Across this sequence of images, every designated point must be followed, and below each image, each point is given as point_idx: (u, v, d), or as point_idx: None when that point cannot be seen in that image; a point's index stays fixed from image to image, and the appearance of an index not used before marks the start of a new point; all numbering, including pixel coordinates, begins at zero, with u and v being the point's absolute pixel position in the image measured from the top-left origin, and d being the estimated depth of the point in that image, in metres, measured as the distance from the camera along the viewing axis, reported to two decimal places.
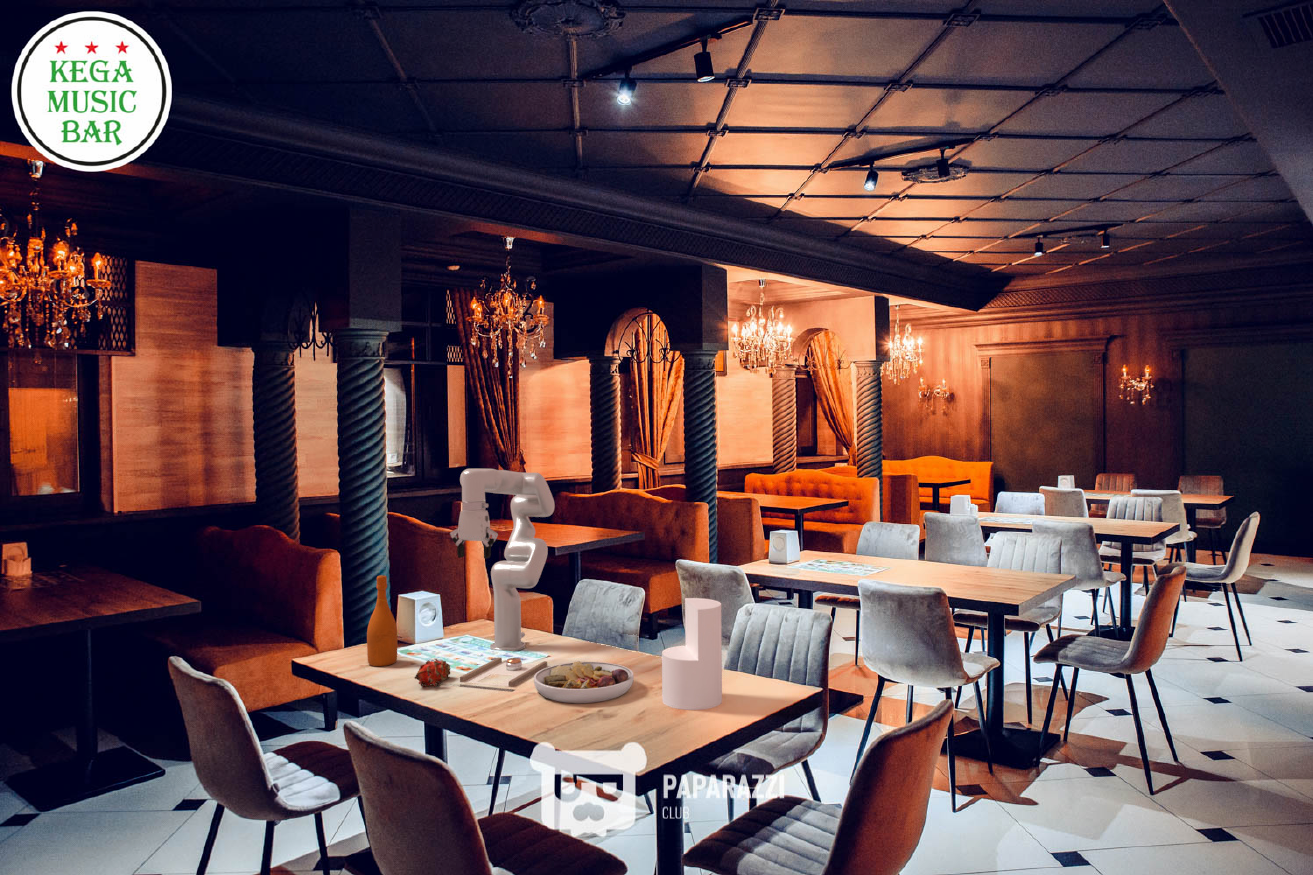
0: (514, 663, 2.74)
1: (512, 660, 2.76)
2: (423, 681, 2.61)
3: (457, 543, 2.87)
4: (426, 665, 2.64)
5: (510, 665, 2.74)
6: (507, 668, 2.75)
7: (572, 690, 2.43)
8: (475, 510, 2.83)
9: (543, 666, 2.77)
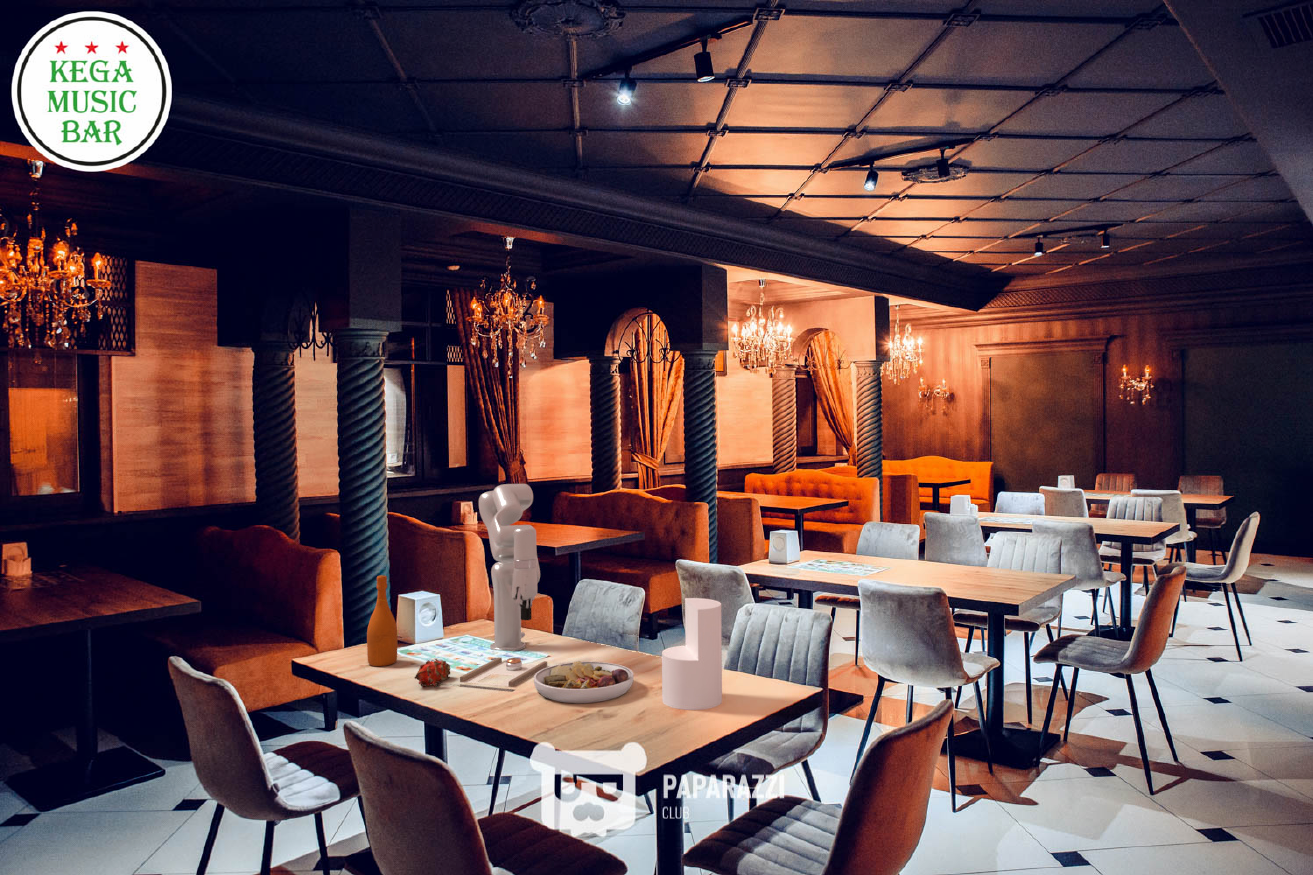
0: (514, 663, 2.74)
1: (512, 660, 2.76)
2: (423, 681, 2.61)
3: (527, 606, 2.83)
4: (426, 665, 2.64)
5: (510, 665, 2.74)
6: (507, 668, 2.75)
7: (572, 690, 2.43)
8: None
9: (543, 666, 2.77)
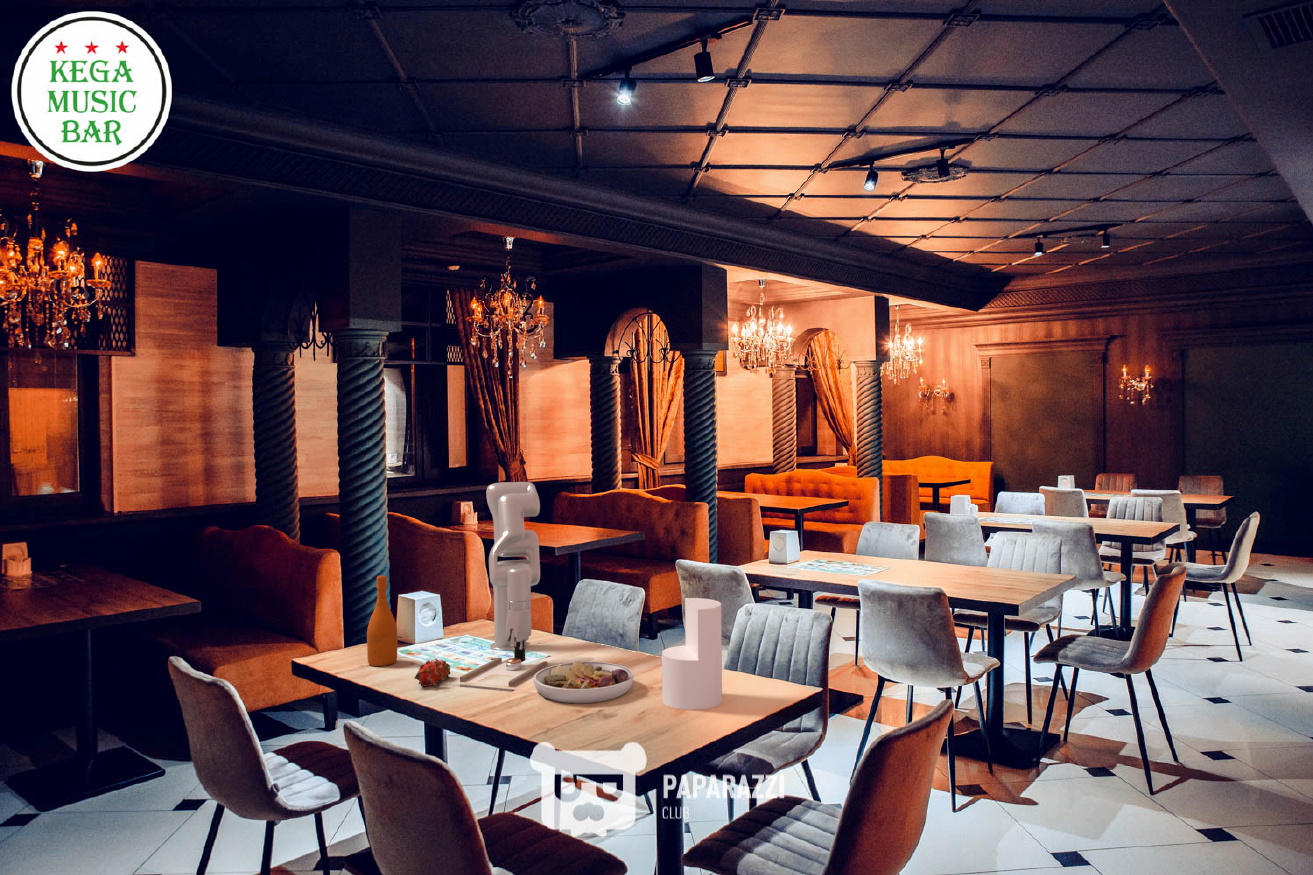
0: (514, 663, 2.74)
1: (512, 660, 2.76)
2: (423, 681, 2.61)
3: (521, 647, 2.79)
4: (426, 665, 2.64)
5: (510, 665, 2.74)
6: (507, 668, 2.75)
7: (572, 690, 2.43)
8: None
9: (543, 666, 2.77)
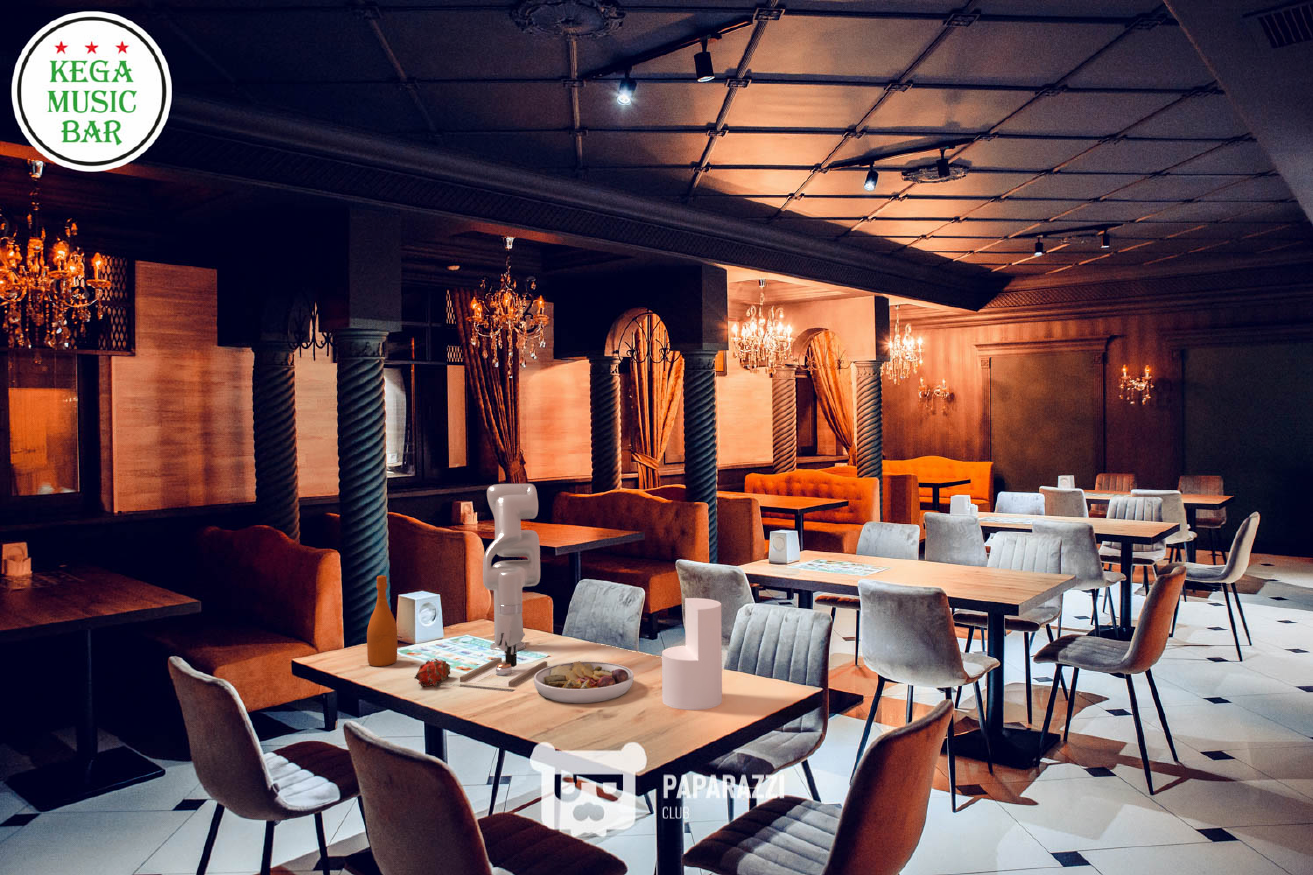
0: (503, 668, 2.69)
1: (502, 665, 2.70)
2: (423, 681, 2.61)
3: (512, 652, 2.73)
4: (426, 665, 2.64)
5: (499, 670, 2.69)
6: (497, 673, 2.70)
7: (572, 690, 2.43)
8: None
9: (543, 666, 2.77)
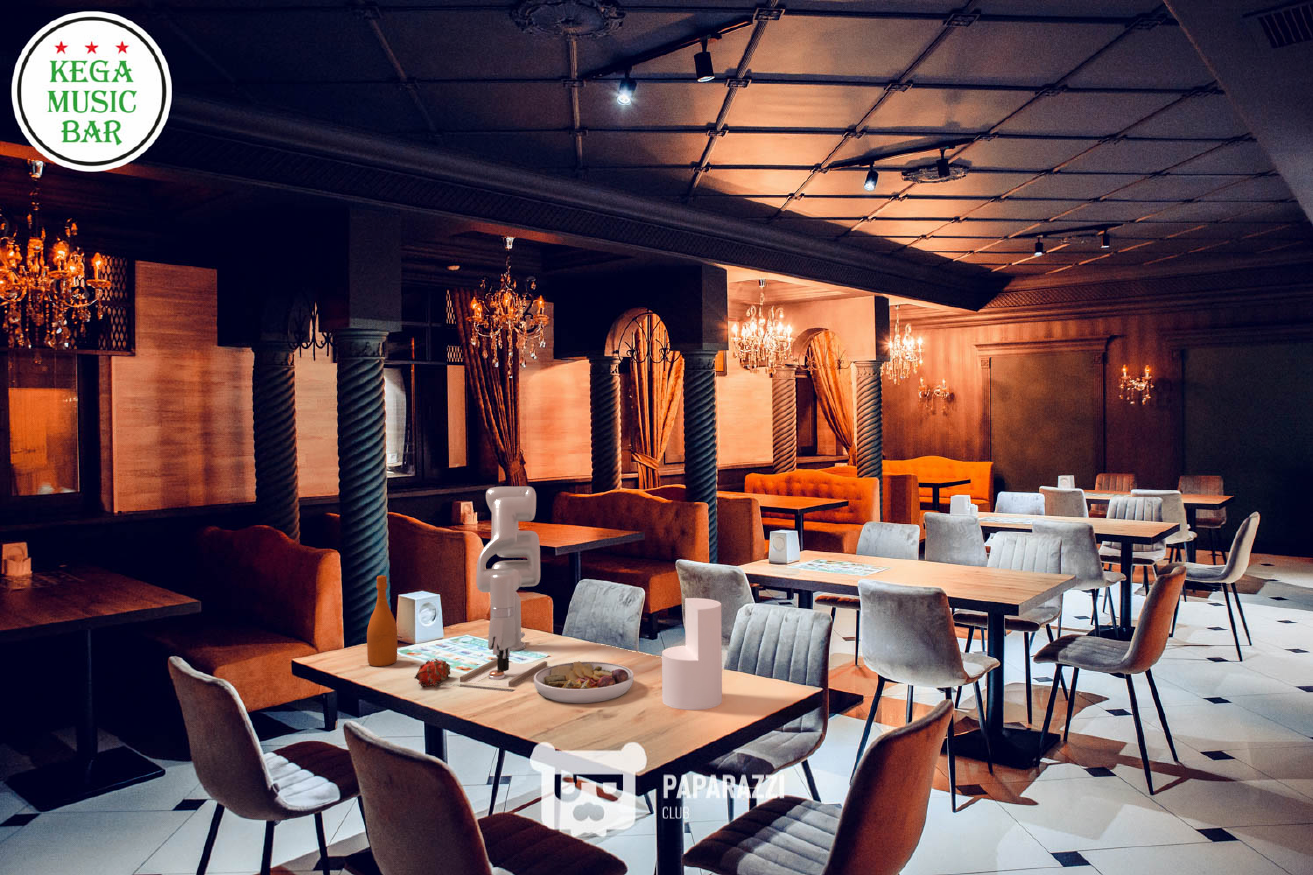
0: (496, 676, 2.65)
1: (494, 672, 2.66)
2: (423, 681, 2.61)
3: (504, 656, 2.68)
4: (426, 665, 2.64)
5: (492, 678, 2.65)
6: None
7: (572, 690, 2.43)
8: None
9: (543, 666, 2.77)
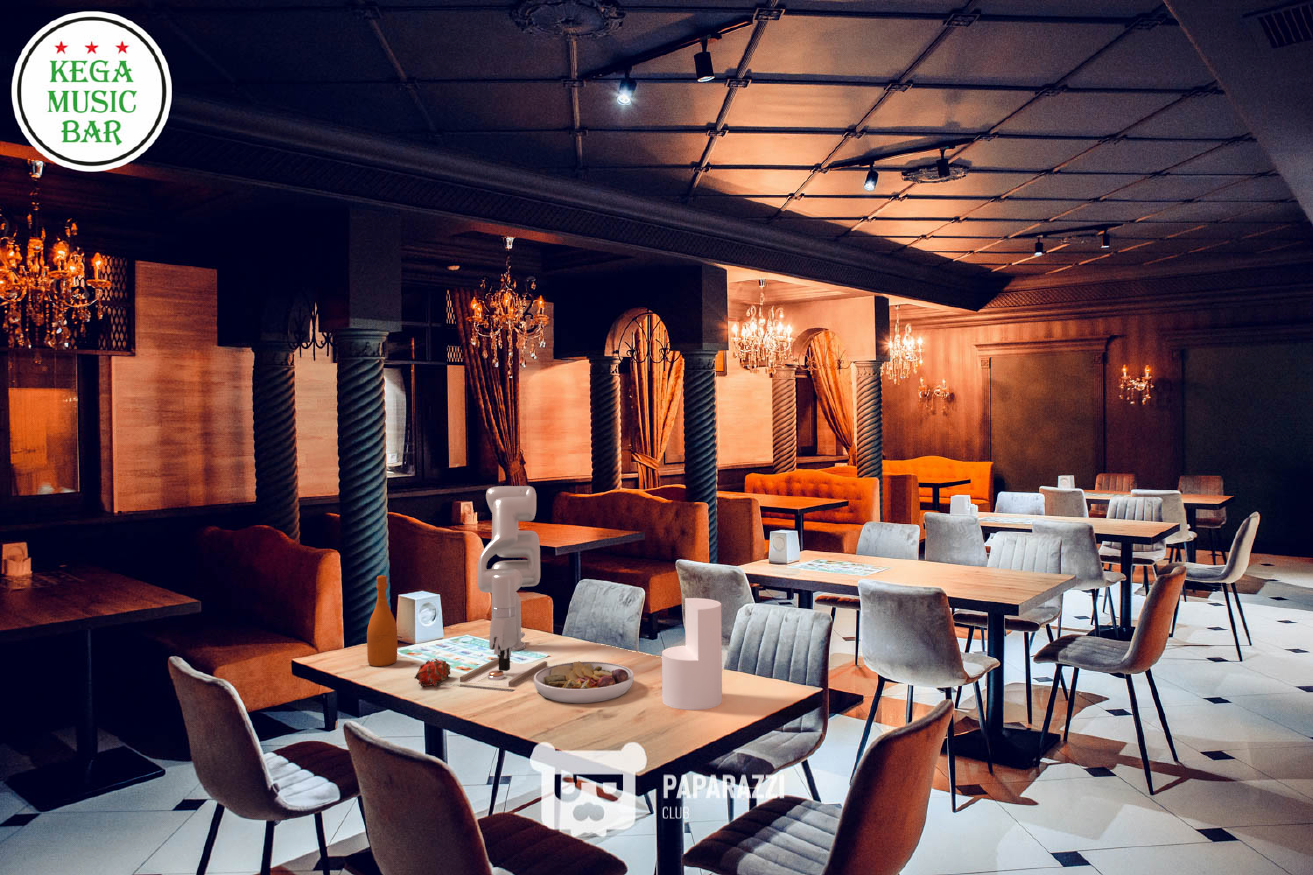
0: (495, 676, 2.64)
1: (494, 673, 2.66)
2: (423, 681, 2.61)
3: (505, 656, 2.69)
4: (426, 665, 2.64)
5: (491, 678, 2.64)
6: None
7: (572, 690, 2.43)
8: None
9: (543, 666, 2.77)
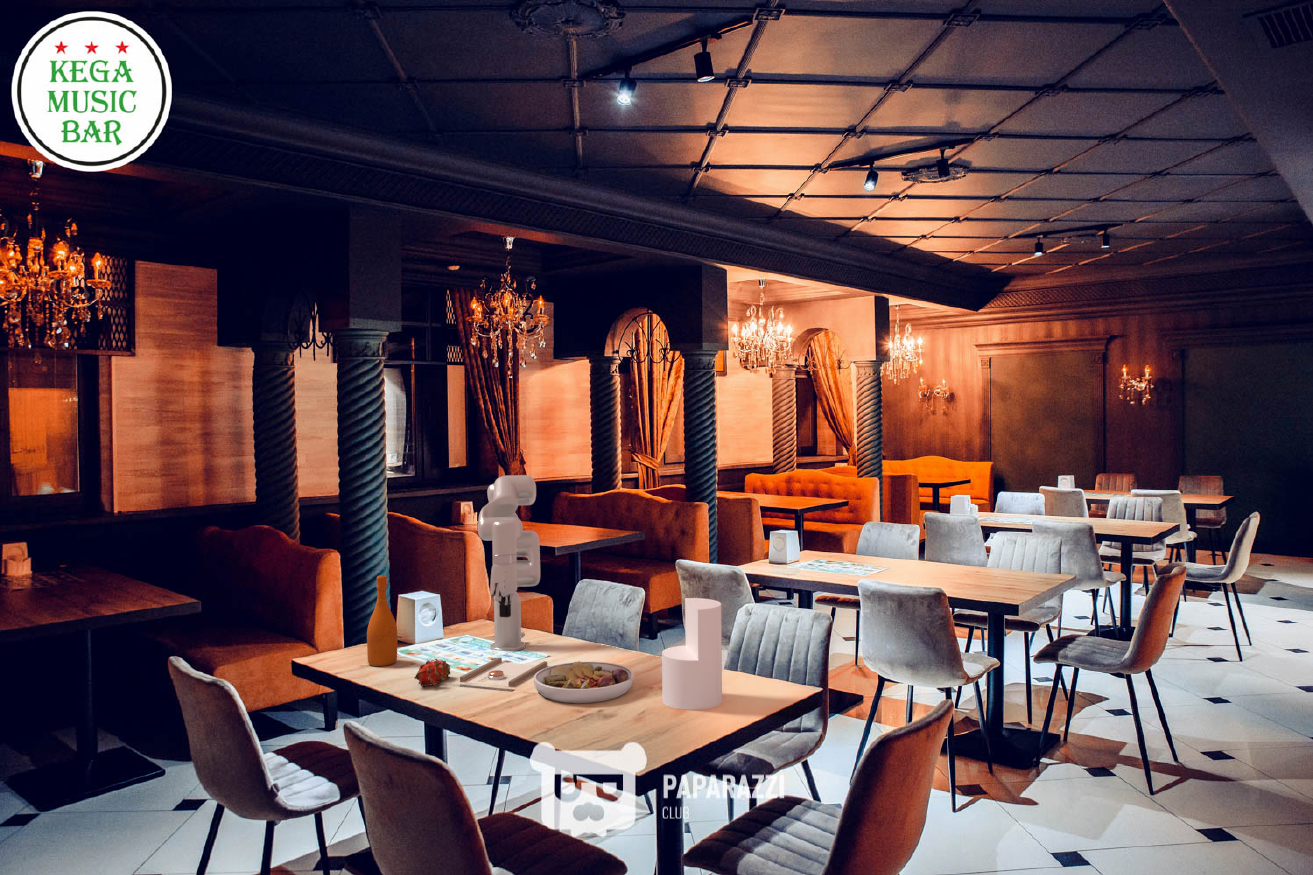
0: (495, 676, 2.64)
1: (494, 673, 2.66)
2: (423, 681, 2.61)
3: (506, 602, 2.70)
4: (426, 665, 2.64)
5: (491, 678, 2.64)
6: None
7: (572, 690, 2.43)
8: None
9: (543, 666, 2.77)
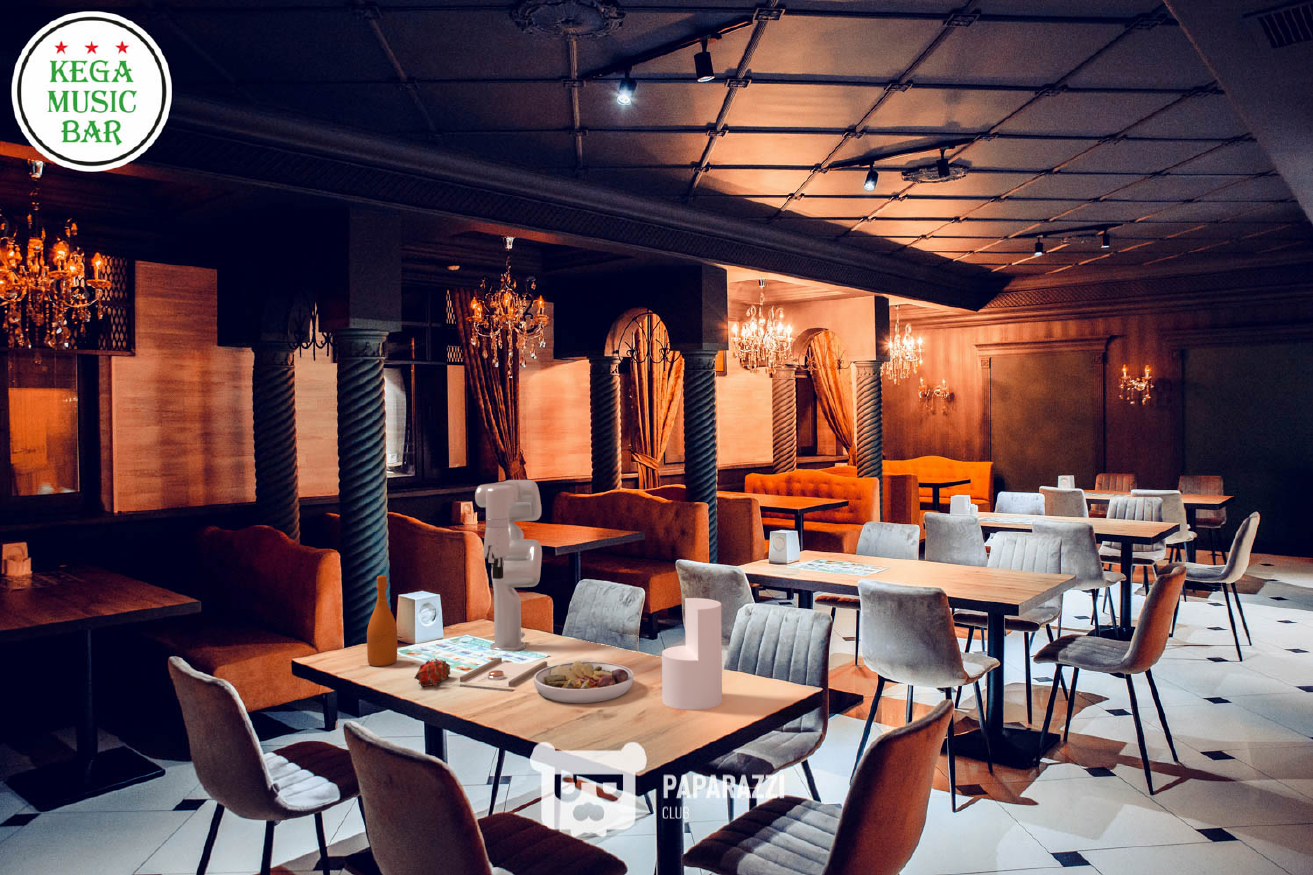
0: (495, 676, 2.64)
1: (494, 673, 2.66)
2: (423, 681, 2.61)
3: (499, 564, 2.86)
4: (426, 665, 2.64)
5: (491, 678, 2.64)
6: None
7: (572, 690, 2.43)
8: None
9: (543, 666, 2.77)
